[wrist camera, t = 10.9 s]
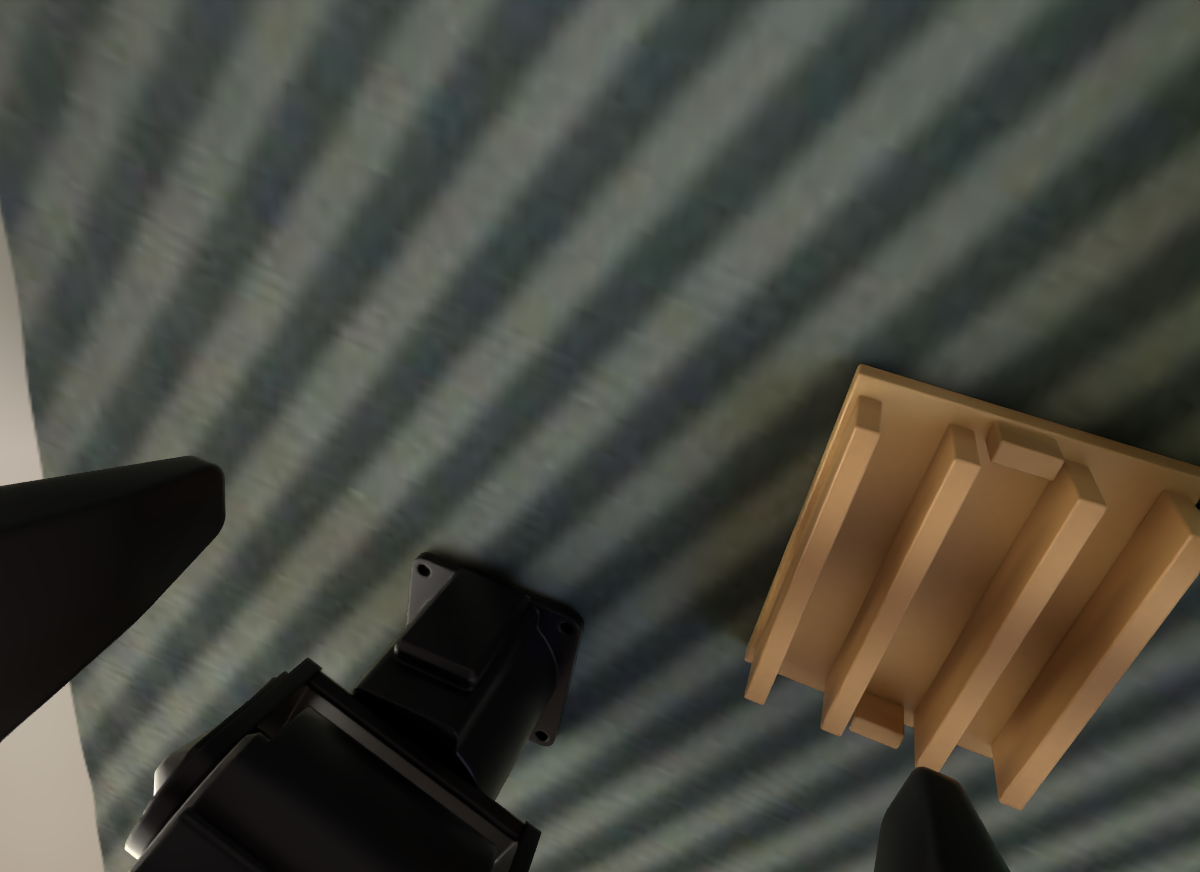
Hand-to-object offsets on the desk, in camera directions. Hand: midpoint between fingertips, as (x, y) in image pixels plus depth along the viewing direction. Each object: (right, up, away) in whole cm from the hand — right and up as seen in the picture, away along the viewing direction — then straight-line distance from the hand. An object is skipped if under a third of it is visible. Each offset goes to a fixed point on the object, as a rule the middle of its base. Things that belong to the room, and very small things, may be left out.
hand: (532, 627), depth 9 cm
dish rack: (+10, -1, +12) cm, 16 cm away
